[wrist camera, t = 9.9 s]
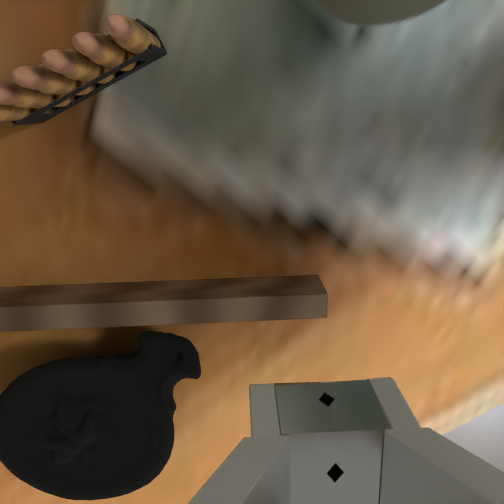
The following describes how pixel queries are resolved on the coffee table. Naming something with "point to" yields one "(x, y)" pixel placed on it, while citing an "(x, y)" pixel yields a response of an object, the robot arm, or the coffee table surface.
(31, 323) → the bracket
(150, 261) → the coffee table surface
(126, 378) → the oil lamp
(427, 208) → the coffee table surface
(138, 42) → the ammunition clip
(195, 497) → the robot arm
